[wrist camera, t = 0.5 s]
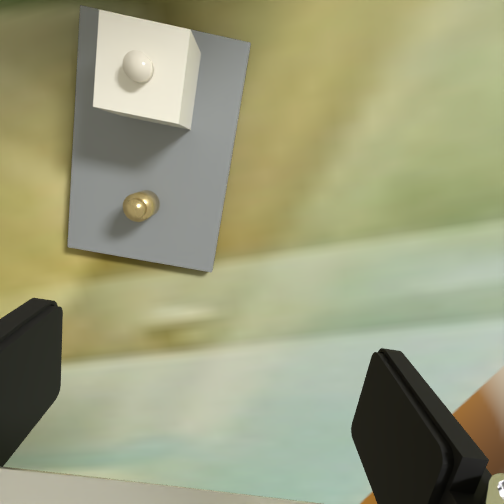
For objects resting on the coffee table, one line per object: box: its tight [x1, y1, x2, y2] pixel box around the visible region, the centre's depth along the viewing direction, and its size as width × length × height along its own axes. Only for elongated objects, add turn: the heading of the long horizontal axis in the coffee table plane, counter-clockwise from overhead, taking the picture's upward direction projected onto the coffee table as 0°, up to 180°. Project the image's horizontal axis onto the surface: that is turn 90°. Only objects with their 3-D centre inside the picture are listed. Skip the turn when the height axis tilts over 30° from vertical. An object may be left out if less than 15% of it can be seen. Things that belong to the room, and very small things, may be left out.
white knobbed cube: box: [93, 10, 201, 130], centre depth 28 cm, size 7×7×7 cm
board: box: [68, 5, 251, 272], centre depth 34 cm, size 22×15×1 cm
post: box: [123, 190, 160, 222], centre depth 32 cm, size 3×3×4 cm
